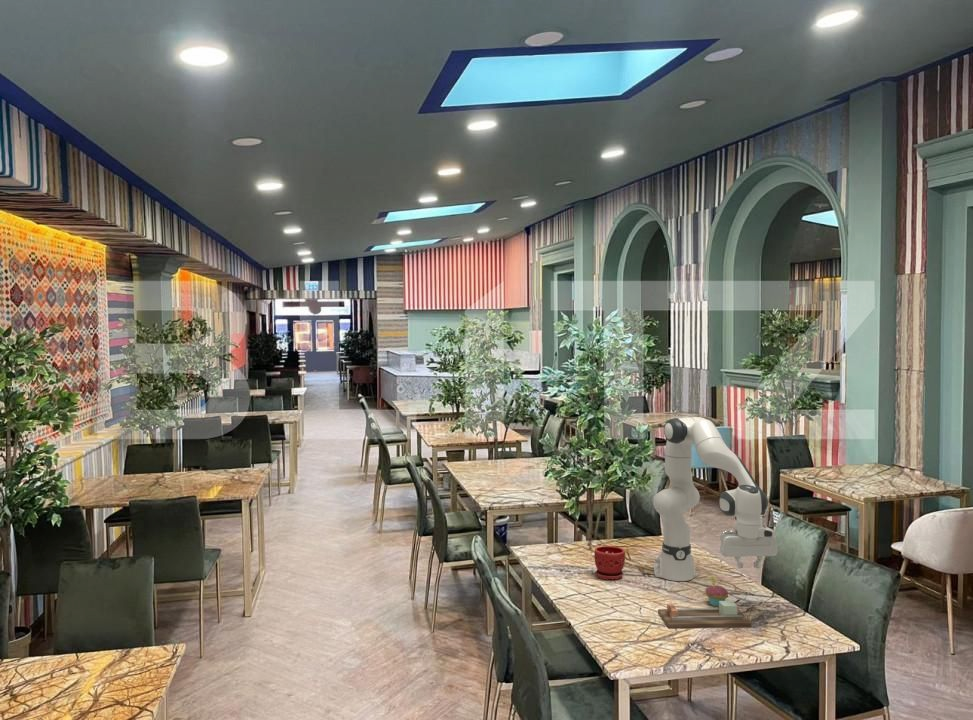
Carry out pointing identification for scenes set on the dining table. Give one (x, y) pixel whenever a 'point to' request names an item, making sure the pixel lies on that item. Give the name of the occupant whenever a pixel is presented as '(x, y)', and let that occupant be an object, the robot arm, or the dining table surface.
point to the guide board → (701, 618)
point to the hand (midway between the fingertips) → (748, 567)
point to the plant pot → (609, 562)
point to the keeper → (727, 608)
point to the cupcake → (716, 594)
